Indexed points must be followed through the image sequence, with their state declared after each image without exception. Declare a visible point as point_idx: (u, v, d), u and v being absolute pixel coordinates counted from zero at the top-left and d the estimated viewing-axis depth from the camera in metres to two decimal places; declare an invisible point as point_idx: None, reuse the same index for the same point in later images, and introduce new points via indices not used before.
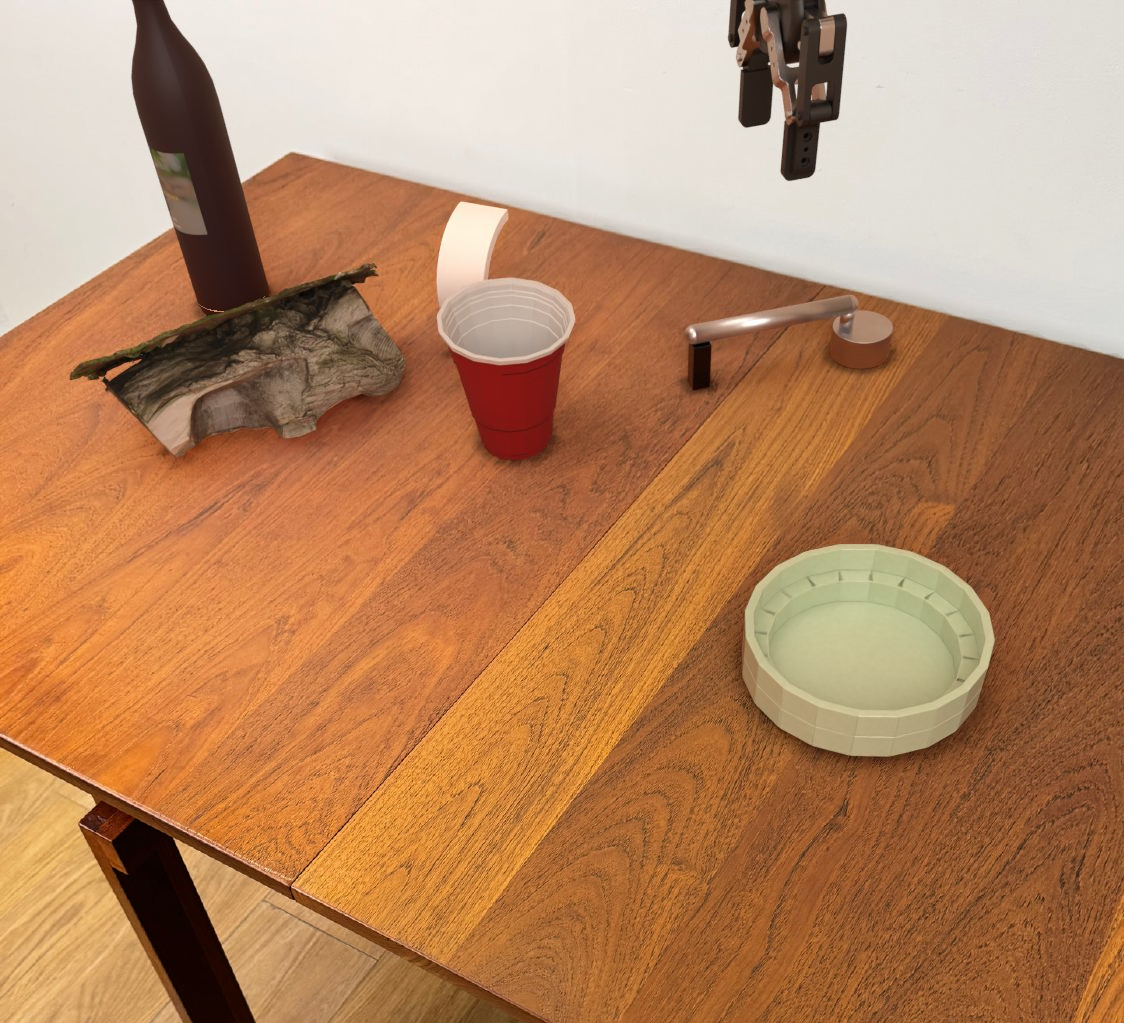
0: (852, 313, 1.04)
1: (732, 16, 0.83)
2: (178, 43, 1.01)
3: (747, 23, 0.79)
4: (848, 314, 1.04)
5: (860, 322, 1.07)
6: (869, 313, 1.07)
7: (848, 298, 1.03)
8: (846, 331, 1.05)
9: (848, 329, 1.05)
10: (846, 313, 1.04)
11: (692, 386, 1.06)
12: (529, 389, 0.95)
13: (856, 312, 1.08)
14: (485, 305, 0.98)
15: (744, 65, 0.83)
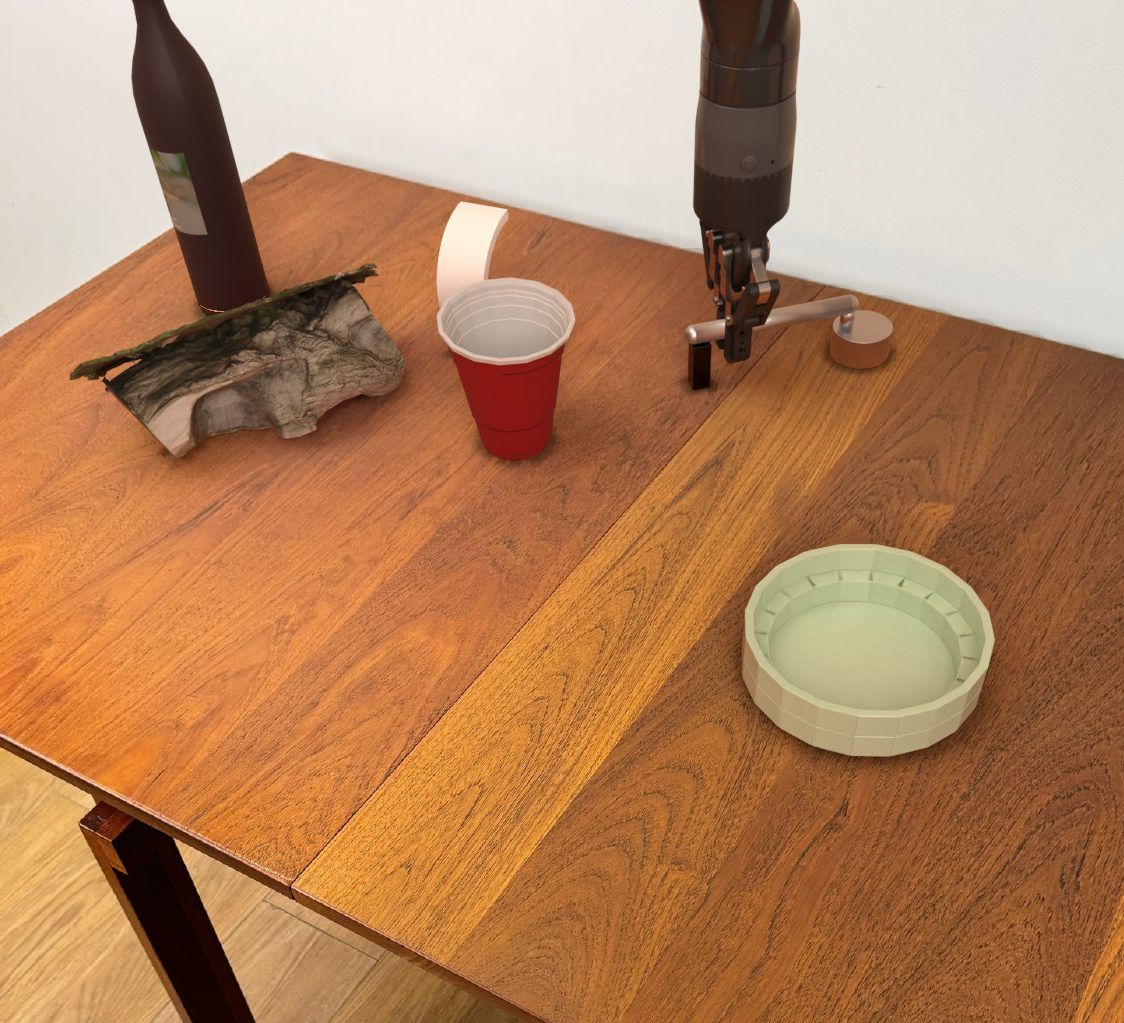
0: (852, 313, 1.04)
1: (707, 265, 1.03)
2: (178, 43, 1.01)
3: (713, 258, 0.99)
4: (848, 314, 1.04)
5: (860, 321, 1.07)
6: (869, 313, 1.07)
7: (848, 298, 1.03)
8: (846, 331, 1.05)
9: (848, 329, 1.05)
10: (846, 313, 1.04)
11: (692, 386, 1.06)
12: (529, 389, 0.95)
13: (856, 312, 1.08)
14: (485, 305, 0.98)
15: (719, 305, 1.02)
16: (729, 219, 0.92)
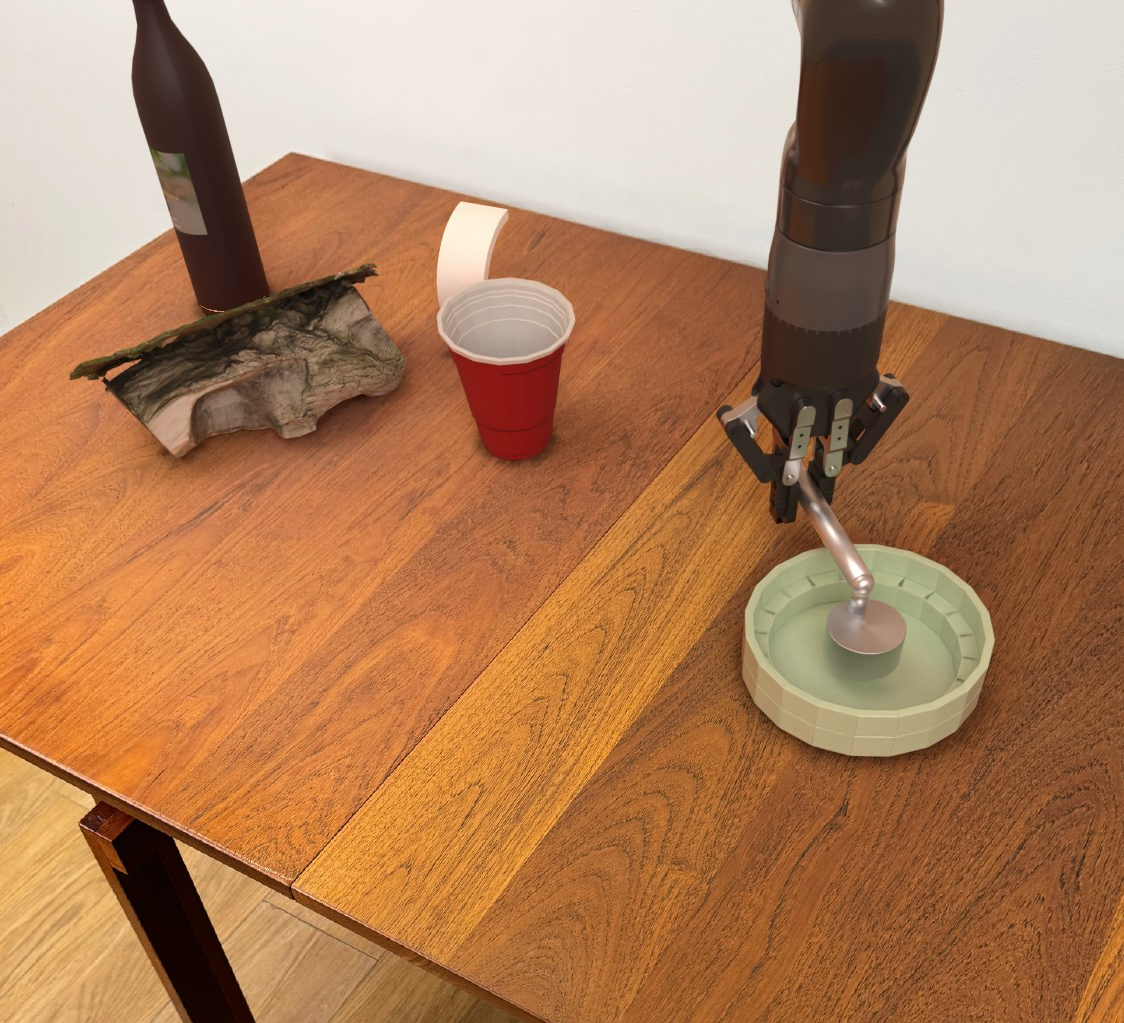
0: (853, 592, 0.80)
1: None
2: (178, 43, 1.01)
3: None
4: (851, 589, 0.80)
5: (876, 624, 0.80)
6: (899, 633, 0.80)
7: (858, 572, 0.79)
8: (848, 607, 0.81)
9: (849, 607, 0.81)
10: (848, 584, 0.80)
11: (771, 508, 0.92)
12: (529, 389, 0.95)
13: (900, 621, 0.80)
14: (485, 305, 0.98)
15: None
16: None
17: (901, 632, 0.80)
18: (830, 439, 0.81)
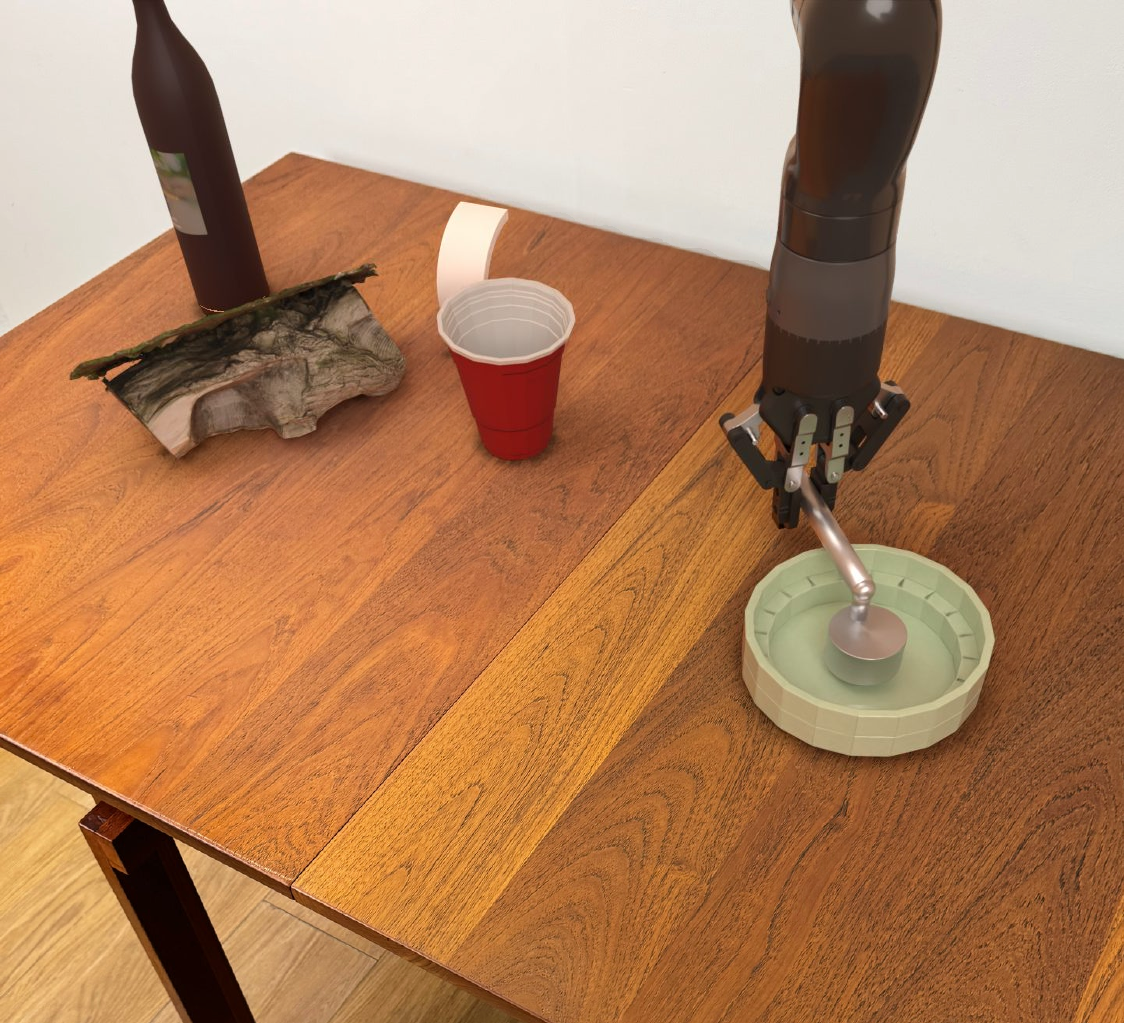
0: (854, 598, 0.80)
1: None
2: (178, 43, 1.01)
3: None
4: (853, 595, 0.81)
5: (877, 630, 0.81)
6: (900, 639, 0.80)
7: (860, 578, 0.80)
8: (849, 613, 0.82)
9: (851, 612, 0.82)
10: None
11: None
12: (529, 389, 0.95)
13: (901, 627, 0.81)
14: (485, 305, 0.98)
15: None
16: None
17: (902, 638, 0.80)
18: (832, 446, 0.82)
